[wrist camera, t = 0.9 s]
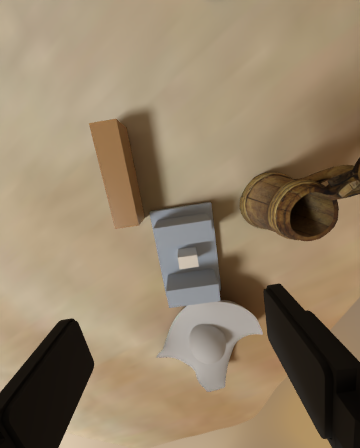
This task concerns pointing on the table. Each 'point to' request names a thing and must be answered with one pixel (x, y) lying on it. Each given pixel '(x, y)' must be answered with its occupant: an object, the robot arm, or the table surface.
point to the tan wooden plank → (118, 172)
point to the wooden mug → (299, 201)
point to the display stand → (187, 254)
